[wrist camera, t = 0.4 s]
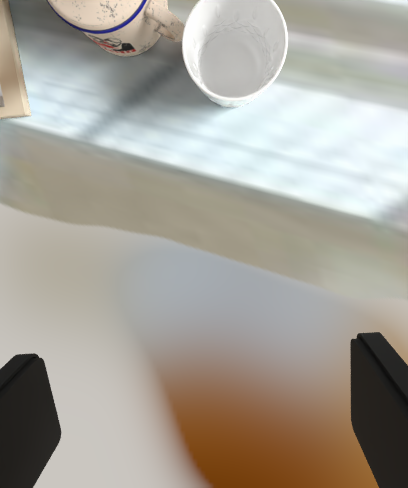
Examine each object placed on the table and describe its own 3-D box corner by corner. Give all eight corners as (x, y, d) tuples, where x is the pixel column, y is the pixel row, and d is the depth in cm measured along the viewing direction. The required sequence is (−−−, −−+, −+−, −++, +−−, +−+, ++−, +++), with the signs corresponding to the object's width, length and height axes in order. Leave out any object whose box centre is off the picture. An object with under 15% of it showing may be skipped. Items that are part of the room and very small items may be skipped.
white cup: (276, 106, 37) (293, 90, 27) (201, 120, 37) (192, 109, 28) (266, 21, 35) (281, -29, 25) (187, 39, 36) (172, -3, 26)
